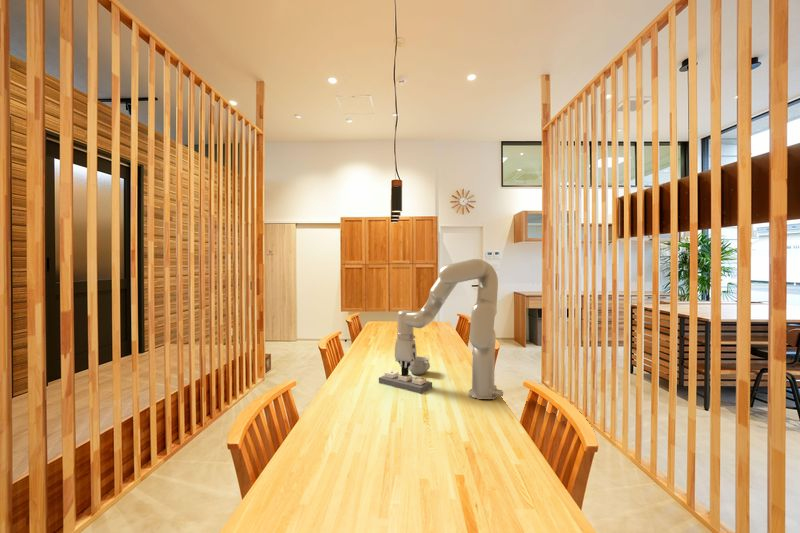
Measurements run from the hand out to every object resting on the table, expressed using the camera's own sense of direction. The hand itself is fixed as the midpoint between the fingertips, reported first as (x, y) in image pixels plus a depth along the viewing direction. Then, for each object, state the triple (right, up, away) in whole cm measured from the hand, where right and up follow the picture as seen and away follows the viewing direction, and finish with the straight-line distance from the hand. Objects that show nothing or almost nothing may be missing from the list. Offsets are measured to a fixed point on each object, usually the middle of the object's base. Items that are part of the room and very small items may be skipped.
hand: (404, 375), depth 175 cm
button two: (+7, -4, -5) cm, 9 cm away
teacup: (+8, -5, +18) cm, 20 cm away
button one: (-6, -4, +5) cm, 9 cm away
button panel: (0, -5, 0) cm, 5 cm away
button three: (0, -4, 0) cm, 4 cm away
